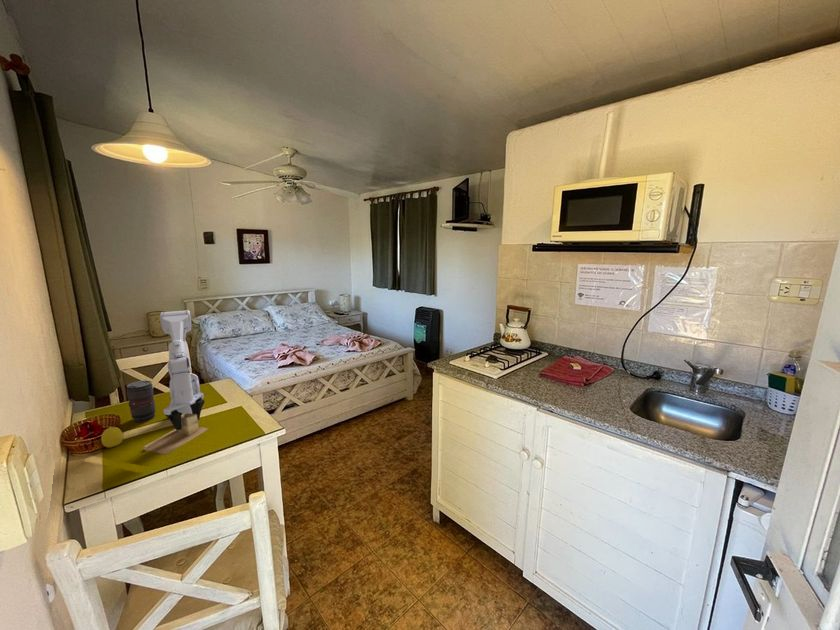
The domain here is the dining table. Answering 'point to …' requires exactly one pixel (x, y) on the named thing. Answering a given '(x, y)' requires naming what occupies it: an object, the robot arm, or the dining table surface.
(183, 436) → the board
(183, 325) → the robot arm
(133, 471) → the dining table surface
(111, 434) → the lemon
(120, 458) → the dining table surface
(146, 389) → the camera lens
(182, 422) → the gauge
